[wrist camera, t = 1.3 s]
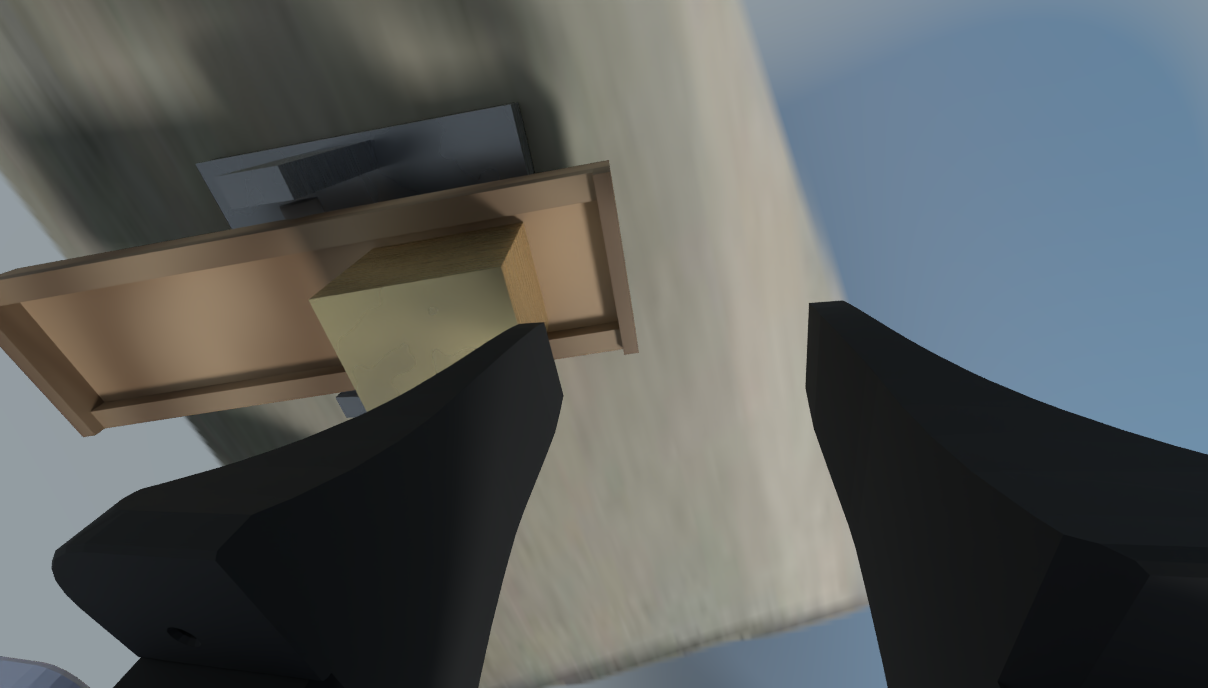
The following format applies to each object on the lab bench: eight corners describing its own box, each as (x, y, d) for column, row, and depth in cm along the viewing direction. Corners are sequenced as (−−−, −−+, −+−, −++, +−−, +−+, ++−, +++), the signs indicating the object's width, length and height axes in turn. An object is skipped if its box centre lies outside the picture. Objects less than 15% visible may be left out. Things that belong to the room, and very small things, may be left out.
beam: (606, 142, 16) (607, 156, 13) (634, 322, 19) (640, 362, 17) (37, 248, 18) (-62, 280, 15) (153, 398, 21) (90, 445, 18)
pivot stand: (574, 343, 22) (540, 419, 18) (319, 358, 25) (236, 425, 21) (518, 102, 17) (451, 121, 13) (211, 159, 20) (71, 191, 16)
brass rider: (548, 321, 17) (536, 386, 14) (413, 343, 17) (366, 412, 14) (523, 222, 15) (501, 267, 12) (372, 248, 16) (308, 299, 12)
